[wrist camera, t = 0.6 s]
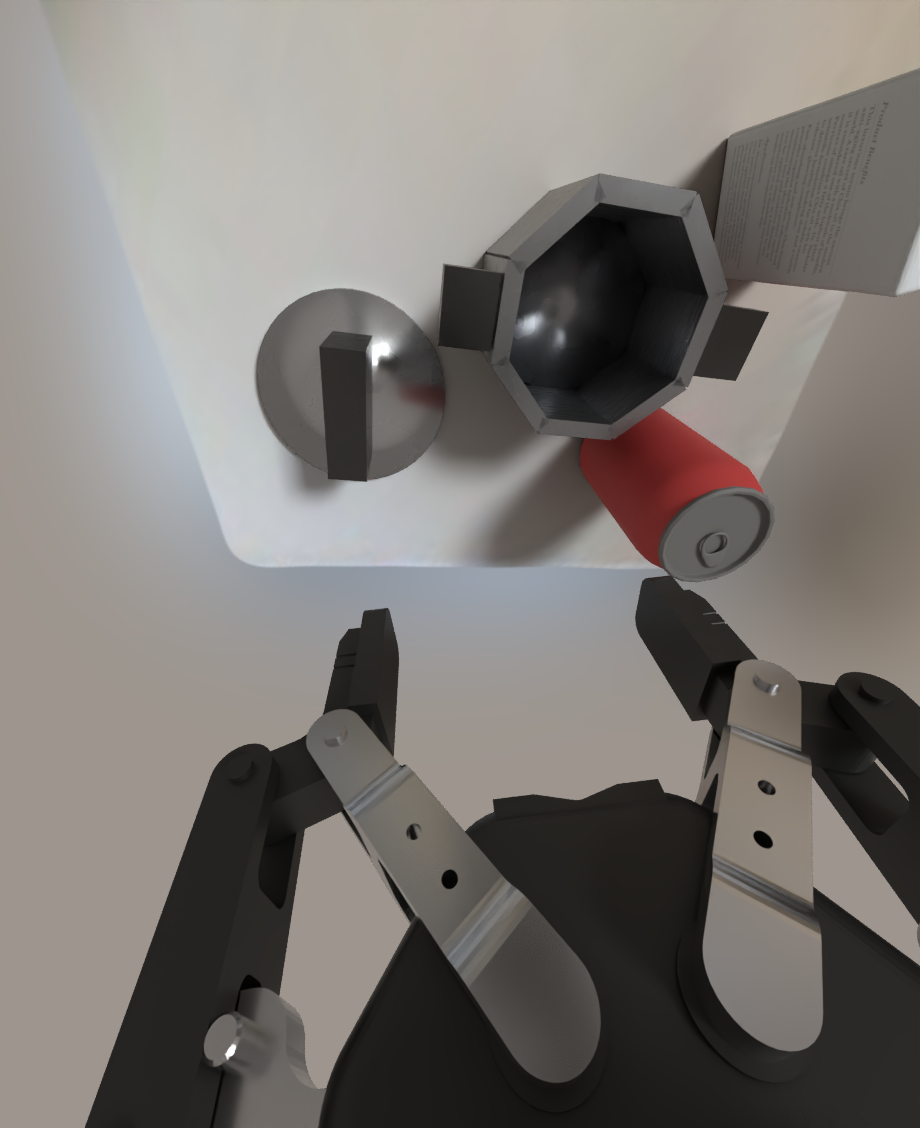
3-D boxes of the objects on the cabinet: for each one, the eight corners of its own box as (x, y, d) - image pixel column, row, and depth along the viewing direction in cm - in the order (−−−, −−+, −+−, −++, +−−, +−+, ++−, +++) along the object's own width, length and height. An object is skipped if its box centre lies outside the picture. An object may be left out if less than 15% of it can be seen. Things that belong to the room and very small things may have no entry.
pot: (443, 170, 21) (454, 146, 15) (721, 220, 23) (819, 214, 17) (428, 385, 27) (431, 423, 21) (649, 408, 29) (705, 448, 23)
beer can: (583, 498, 33) (652, 605, 23) (569, 417, 29) (646, 505, 19) (669, 470, 32) (777, 569, 22) (667, 383, 28) (798, 458, 18)
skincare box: (780, 260, 24) (1015, 275, 15) (705, 277, 24) (890, 302, 15) (815, 109, 21) (1159, -2, 11) (726, 130, 21) (989, 40, 11)
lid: (246, 274, 23) (209, 281, 19) (453, 301, 24) (461, 314, 20) (274, 468, 29) (252, 505, 25) (436, 479, 31) (439, 516, 27)
